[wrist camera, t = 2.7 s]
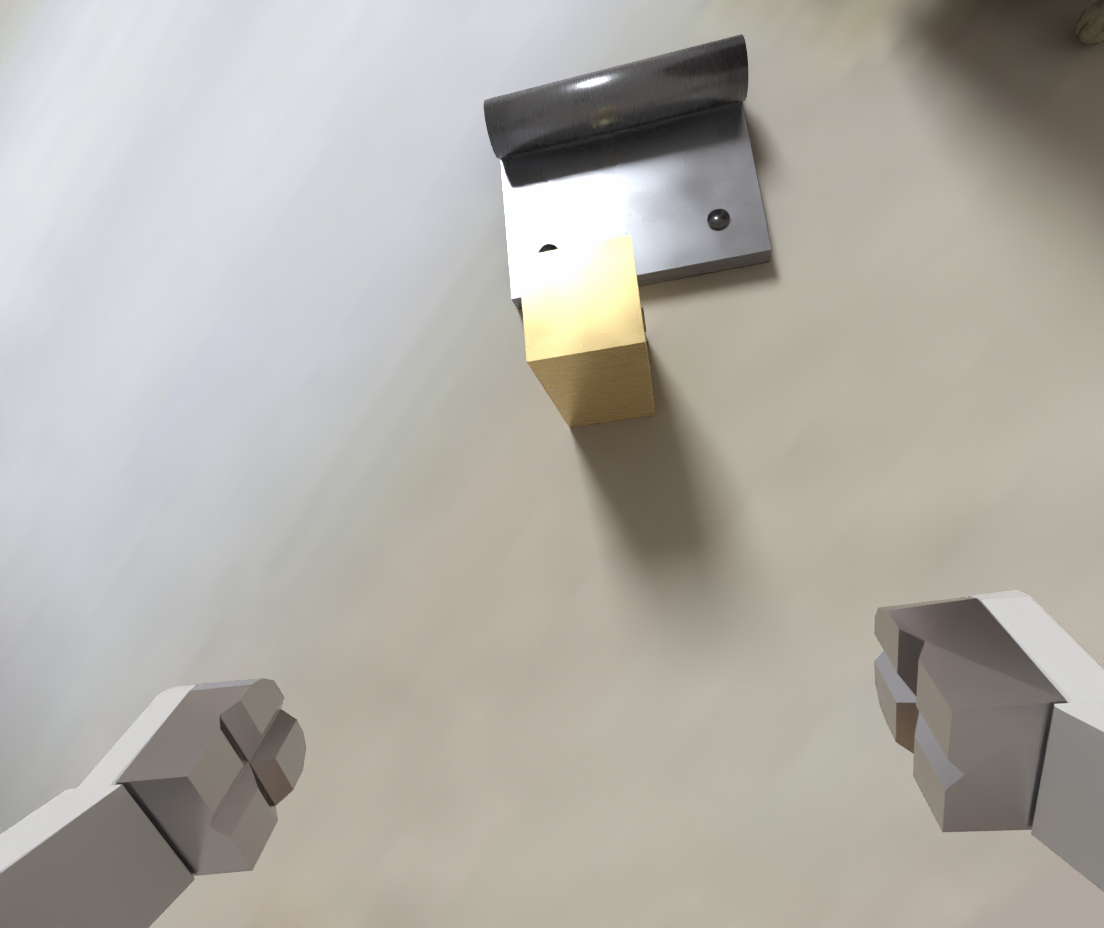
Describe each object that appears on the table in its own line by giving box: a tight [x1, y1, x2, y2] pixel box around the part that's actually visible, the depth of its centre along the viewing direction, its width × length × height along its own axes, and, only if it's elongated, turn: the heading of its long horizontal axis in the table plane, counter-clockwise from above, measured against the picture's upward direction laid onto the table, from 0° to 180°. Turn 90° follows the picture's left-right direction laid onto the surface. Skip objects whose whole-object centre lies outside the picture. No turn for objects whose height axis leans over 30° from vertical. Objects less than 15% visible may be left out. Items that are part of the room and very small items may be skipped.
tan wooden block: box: [518, 235, 656, 427], centre depth 24 cm, size 4×4×8 cm
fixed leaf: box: [484, 34, 771, 309], centre depth 28 cm, size 10×12×4 cm
